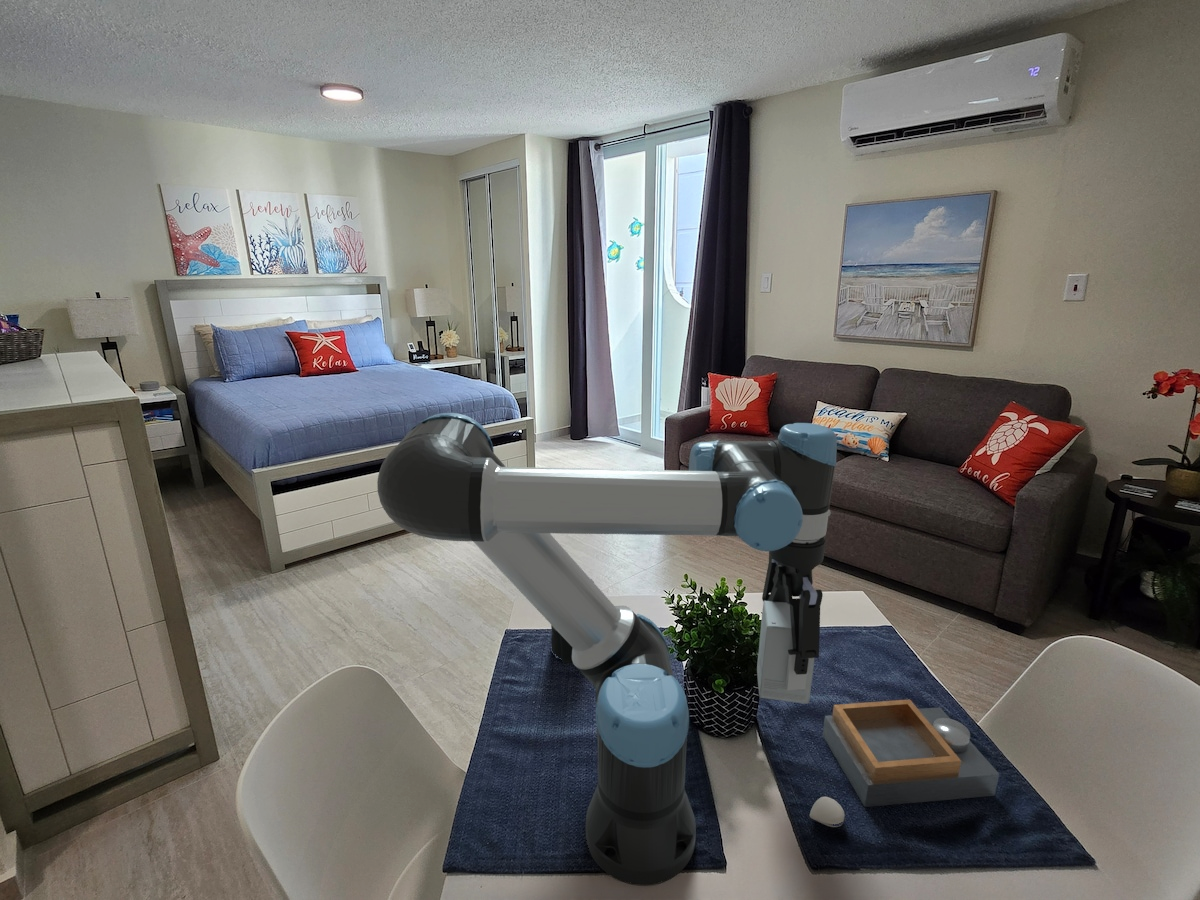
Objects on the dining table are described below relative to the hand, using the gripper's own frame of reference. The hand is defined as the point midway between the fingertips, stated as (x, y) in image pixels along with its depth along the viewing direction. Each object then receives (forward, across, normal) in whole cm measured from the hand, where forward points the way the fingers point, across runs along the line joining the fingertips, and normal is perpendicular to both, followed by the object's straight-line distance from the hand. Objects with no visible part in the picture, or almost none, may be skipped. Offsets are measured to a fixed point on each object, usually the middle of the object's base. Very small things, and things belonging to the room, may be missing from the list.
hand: (783, 668), depth 94 cm
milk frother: (+17, +29, +27) cm, 43 cm away
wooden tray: (+16, -4, -19) cm, 25 cm away
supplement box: (+3, 0, 0) cm, 3 cm away
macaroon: (+17, -12, -3) cm, 21 cm away
